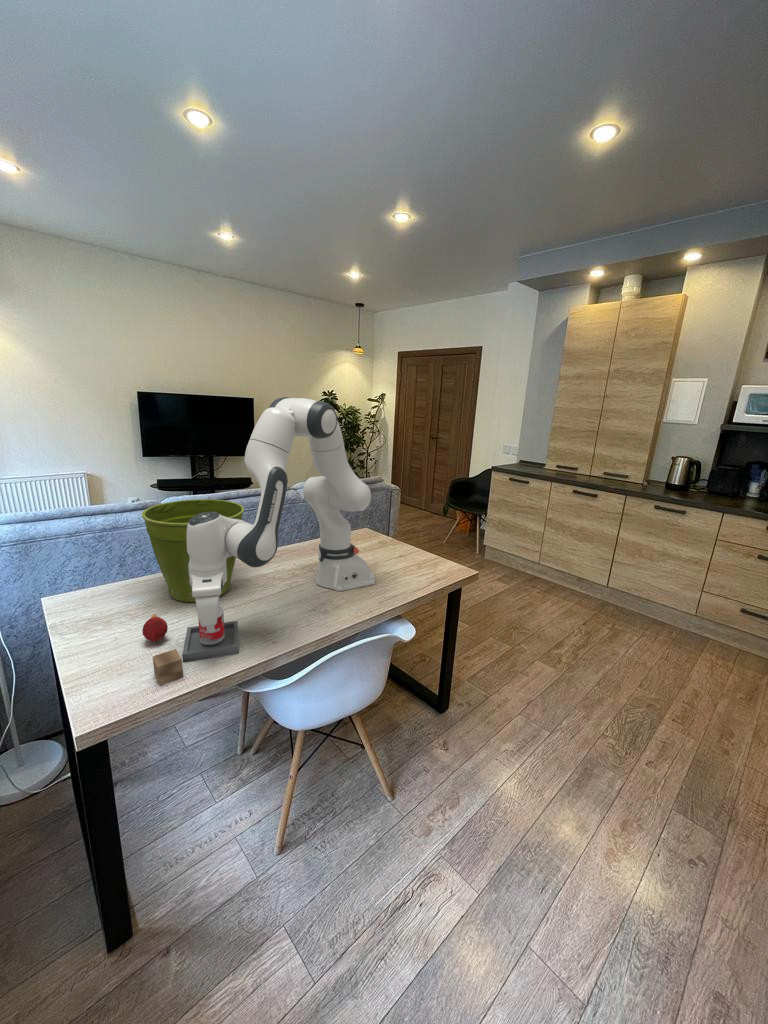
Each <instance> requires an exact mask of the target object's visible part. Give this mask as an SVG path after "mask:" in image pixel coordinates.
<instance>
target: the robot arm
mask: <svg viewBox="0 0 768 1024" xmlns="http://www.w3.org/2000/svg"><path fill="white" fill-rule="evenodd" d="M295 437H299V438H300V437H301V438H302V437H304V438H308V443H309V447H310V453H311V457H312V462H313V466H314V469H315V470H316V472H318V473H319V474H320V475H321V476H320V475H319V476H310V477H308V479H307V480H306V481H305V482H304V484H303V486H302V494H303V498H304V500H305V501H306V503H308V505H309V506H311V509H312V510H313V511H314V513H315V515H316V517H317V520H318V524H319V525H318V526H319V544H318V553H317V554H318V560H319V561H318V567H317V573H316V577H315V580H314V582H315V583H316V584H317V585H318V586H319V587H322V588H327V589H332V590H334V591H338V592H343V591H347V590H348V591H349V590H353V589H358V588H361V587H366V586H370V585H375V583H376V577H375V575H374V573H373V572H372V571H370V568H369V564H368V563H367V561H366V560H365V559H364V558H362V557H361V556H359V553H360V550H359V548H358V547H357V546H356V545H354V544H353V543H351V535H352V527H351V524H350V522H349V521H348V519H346V518H345V517H344V516H343V515H342V513H341V512H340V511H345V512H363V511H365V510H366V509H368V507H369V505H370V504H371V499H372V492H371V489H370V487H369V485H368V484H367V483H365V482H363V481H362V480H361V479H360V478H359V477H358V475H356V473H355V472H354V471H353V469H352V467H351V466H350V463H349V462H348V458H347V457H348V456H347V453H346V448H345V444H344V437H343V432H342V429H341V426H340V423H339V420H338V415H337V412H336V410H335V408H334V407H333V405H331V404H330V403H328V402H325V401H322V400H314V399H311V398H304V397H300V398H298V397H287V396H286V397H278V398H276V399H275V400H273V401H272V402H271V404H269V407H268V408H266V409H265V410H263V412H262V413H261V415H260V416H259V418H258V420H257V421H256V424H255V425H254V428H253V430H252V433H251V434H250V438H249V440H248V443H247V445H246V448H245V452H244V459H243V460H244V464H245V467H246V469H247V471H248V472H249V473H250V475H251V476H252V477H253V478H254V479H255V480H256V482H257V483H258V485H259V489H260V499H259V503H258V507H257V512H256V516H255V520H254V523H253V524H252V523H250V522H248V521H245V520H243V519H242V520H240V519H231V518H227V517H225V516H222V515H220V514H219V513H217V512H204V513H200V514H197V515H195V516H194V517H192V518H191V519H190V520H189V522H188V525H187V534H186V539H187V552H188V554H189V558H190V560H189V565H188V567H189V579H190V585H191V587H192V596H193V597H195V599H196V602H195V605H196V611H197V617H198V618H199V621H198V623H199V622H200V625H201V626H202V627H207V632H208V633H211V632H214V631H215V625H216V624H217V617H218V604H219V600H220V596H221V595H220V594H221V592H222V588H223V586H224V584H225V582H226V581H227V567H226V559H227V558H228V557H231V556H233V557H235V558H236V559H238V560H240V561H241V562H243V563H244V564H246V565H247V566H249V567H251V568H260V567H263V566H265V565H266V564H268V563H269V562H270V561H272V560H273V559H274V557H275V556H276V553H277V550H278V547H279V528H280V522H281V519H282V514H283V510H284V509H283V508H284V504H285V499H286V495H287V490H288V481H289V480H288V474H287V465H288V464H287V463H288V459H289V456H290V453H291V449H292V445H293V442H294V439H295Z"/></svg>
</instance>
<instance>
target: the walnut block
mask: <svg viewBox="0 0 768 1024" xmlns="http://www.w3.org/2000/svg"><path fill="white" fill-rule="evenodd" d="M152 664H153V673H154V676H155V679H156V681H157V683H158V685H159V687H161V686H163V684H164V685H167V684H169V683H172V682H175V681H177V680H180V679H183V678H184V666H183V658H182V656H181V655H180V653H179V651H178V650H177V649H176V648H174V649H171V650H168V651H165V652H162V653H159V654H156V655H153V656H152ZM166 683H167V684H166Z"/></svg>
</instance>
